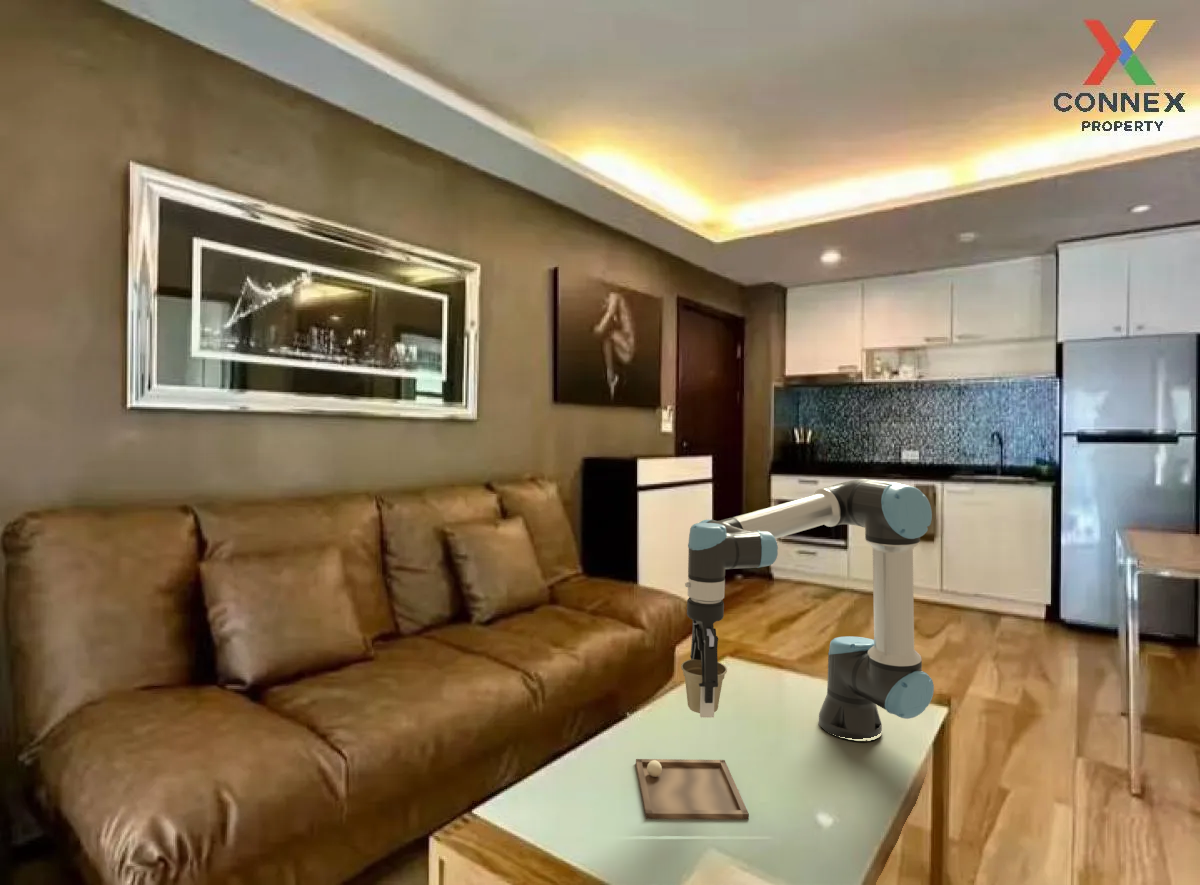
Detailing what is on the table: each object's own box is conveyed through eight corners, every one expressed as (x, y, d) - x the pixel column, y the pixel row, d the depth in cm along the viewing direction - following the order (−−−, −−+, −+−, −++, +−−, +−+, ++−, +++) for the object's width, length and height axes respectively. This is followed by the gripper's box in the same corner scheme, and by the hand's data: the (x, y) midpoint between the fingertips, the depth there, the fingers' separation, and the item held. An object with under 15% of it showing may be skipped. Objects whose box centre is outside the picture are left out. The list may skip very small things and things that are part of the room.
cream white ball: (660, 771, 142) (661, 757, 142) (662, 780, 139) (663, 765, 139) (645, 771, 142) (646, 757, 142) (647, 779, 139) (648, 765, 139)
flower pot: (725, 720, 130) (726, 678, 129) (678, 715, 132) (679, 673, 131) (726, 700, 139) (727, 661, 139) (681, 696, 141) (682, 656, 141)
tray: (724, 766, 146) (724, 759, 146) (748, 821, 126) (748, 814, 126) (635, 765, 145) (635, 759, 145) (646, 821, 125) (646, 813, 125)
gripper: (679, 585, 145) (676, 685, 146) (697, 614, 124) (694, 731, 125) (712, 585, 145) (709, 685, 146) (736, 614, 124) (732, 731, 125)
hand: (702, 706), depth 135 cm, fingers closed on flower pot, 8 cm apart
